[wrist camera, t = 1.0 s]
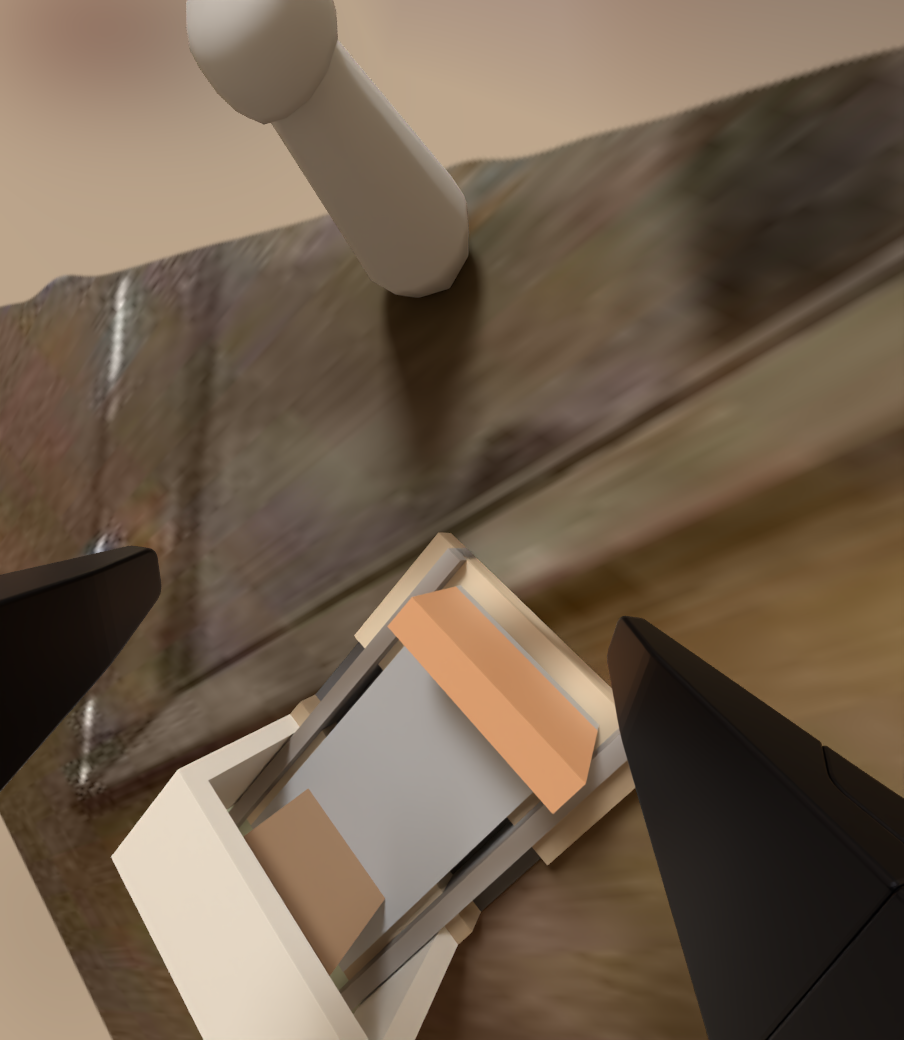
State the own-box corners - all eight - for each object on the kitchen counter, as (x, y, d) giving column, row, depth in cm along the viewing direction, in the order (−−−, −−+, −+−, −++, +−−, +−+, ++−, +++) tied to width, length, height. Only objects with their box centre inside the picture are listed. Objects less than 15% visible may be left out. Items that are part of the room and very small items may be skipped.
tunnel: (458, 944, 20) (382, 1110, 14) (379, 1013, 22) (280, 1192, 16) (290, 714, 24) (178, 769, 18) (232, 784, 26) (111, 857, 20)
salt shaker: (427, 336, 24) (213, 129, 12) (365, 274, 26) (122, 37, 14) (506, 242, 22) (353, -102, 10) (435, 183, 24) (232, -171, 12)
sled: (599, 724, 18) (585, 783, 14) (350, 961, 22) (277, 1066, 18) (460, 585, 21) (411, 596, 16) (259, 819, 25) (175, 880, 20)
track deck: (666, 742, 19) (670, 767, 17) (313, 1059, 25) (282, 1108, 22) (450, 533, 23) (431, 532, 21) (191, 847, 29) (155, 871, 27)
